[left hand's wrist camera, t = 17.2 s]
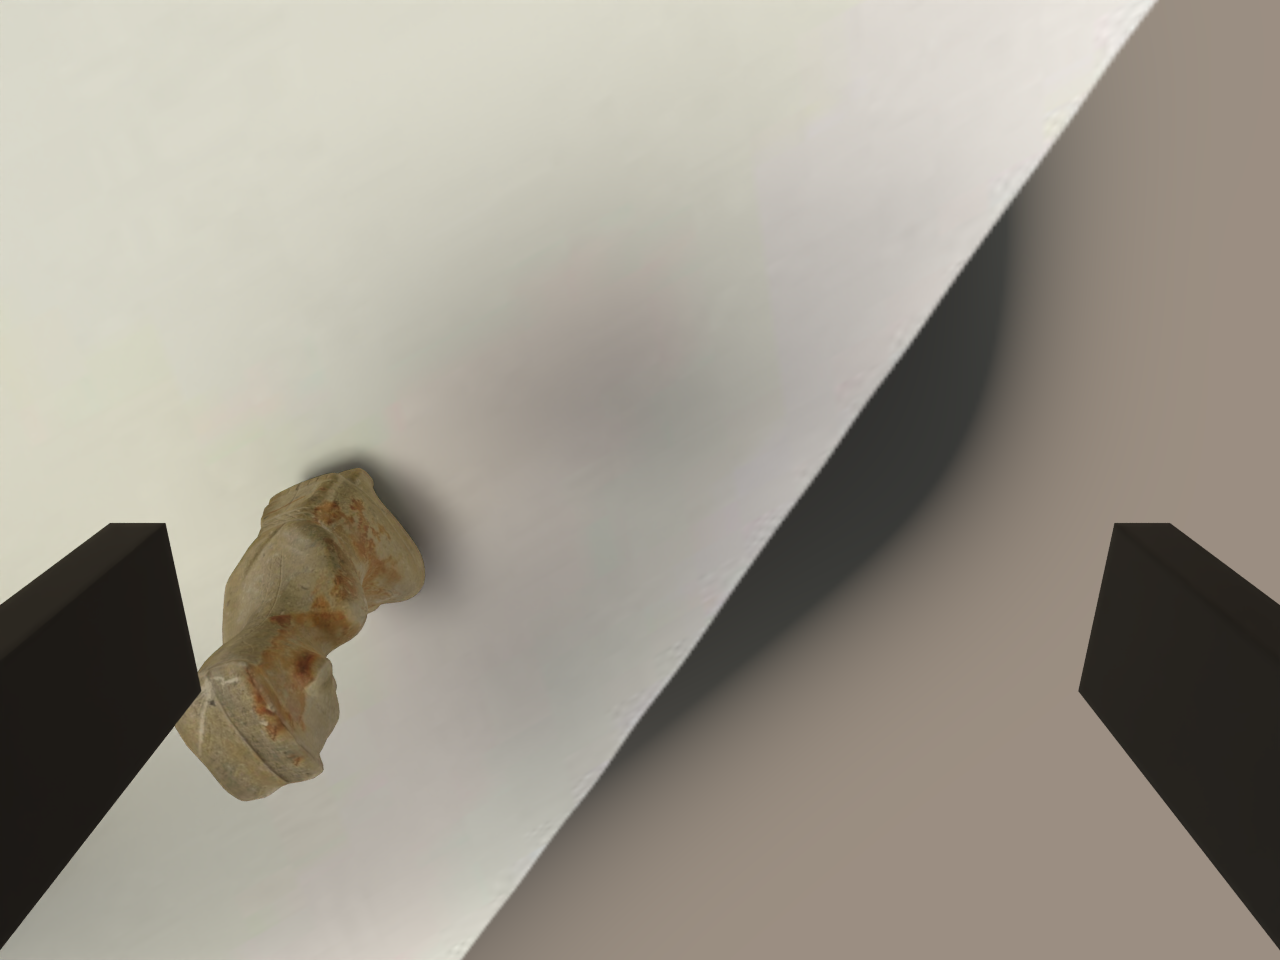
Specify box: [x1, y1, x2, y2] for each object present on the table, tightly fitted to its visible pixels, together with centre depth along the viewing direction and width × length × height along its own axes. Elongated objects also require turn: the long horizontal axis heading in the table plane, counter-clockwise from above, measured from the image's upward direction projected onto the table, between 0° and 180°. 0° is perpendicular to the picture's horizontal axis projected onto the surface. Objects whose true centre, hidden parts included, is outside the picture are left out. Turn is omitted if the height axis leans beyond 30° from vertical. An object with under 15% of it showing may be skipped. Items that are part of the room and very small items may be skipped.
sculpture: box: [175, 468, 425, 801], centre depth 35 cm, size 6×7×15 cm
